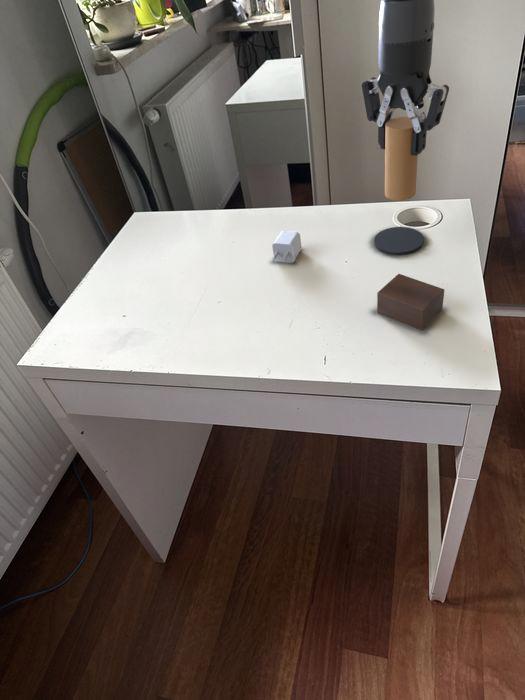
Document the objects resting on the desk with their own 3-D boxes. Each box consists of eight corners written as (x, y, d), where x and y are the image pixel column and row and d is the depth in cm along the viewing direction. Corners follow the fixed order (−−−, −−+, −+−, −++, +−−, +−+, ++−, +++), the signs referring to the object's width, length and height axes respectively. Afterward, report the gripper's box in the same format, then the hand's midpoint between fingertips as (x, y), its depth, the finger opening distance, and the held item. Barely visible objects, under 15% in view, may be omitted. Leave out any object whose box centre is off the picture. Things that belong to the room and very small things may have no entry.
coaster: (427, 231, 98) (428, 228, 98) (418, 257, 93) (418, 254, 92) (380, 227, 102) (380, 225, 101) (368, 252, 96) (368, 249, 96)
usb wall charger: (301, 250, 100) (299, 232, 97) (289, 271, 95) (287, 252, 93) (282, 248, 101) (279, 230, 99) (269, 268, 97) (266, 250, 94)
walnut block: (397, 293, 86) (398, 273, 83) (442, 309, 82) (444, 289, 79) (377, 312, 83) (377, 292, 81) (422, 330, 79) (423, 310, 76)
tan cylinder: (415, 138, 92) (388, 104, 82) (442, 142, 89) (417, 107, 79) (387, 203, 94) (357, 177, 84) (412, 210, 91) (385, 184, 81)
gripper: (348, 38, 76) (351, 152, 88) (438, 42, 68) (428, 168, 79) (377, 24, 80) (377, 135, 91) (466, 27, 72) (453, 149, 83)
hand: (401, 150), depth 85 cm, fingers closed on tan cylinder, 5 cm apart
